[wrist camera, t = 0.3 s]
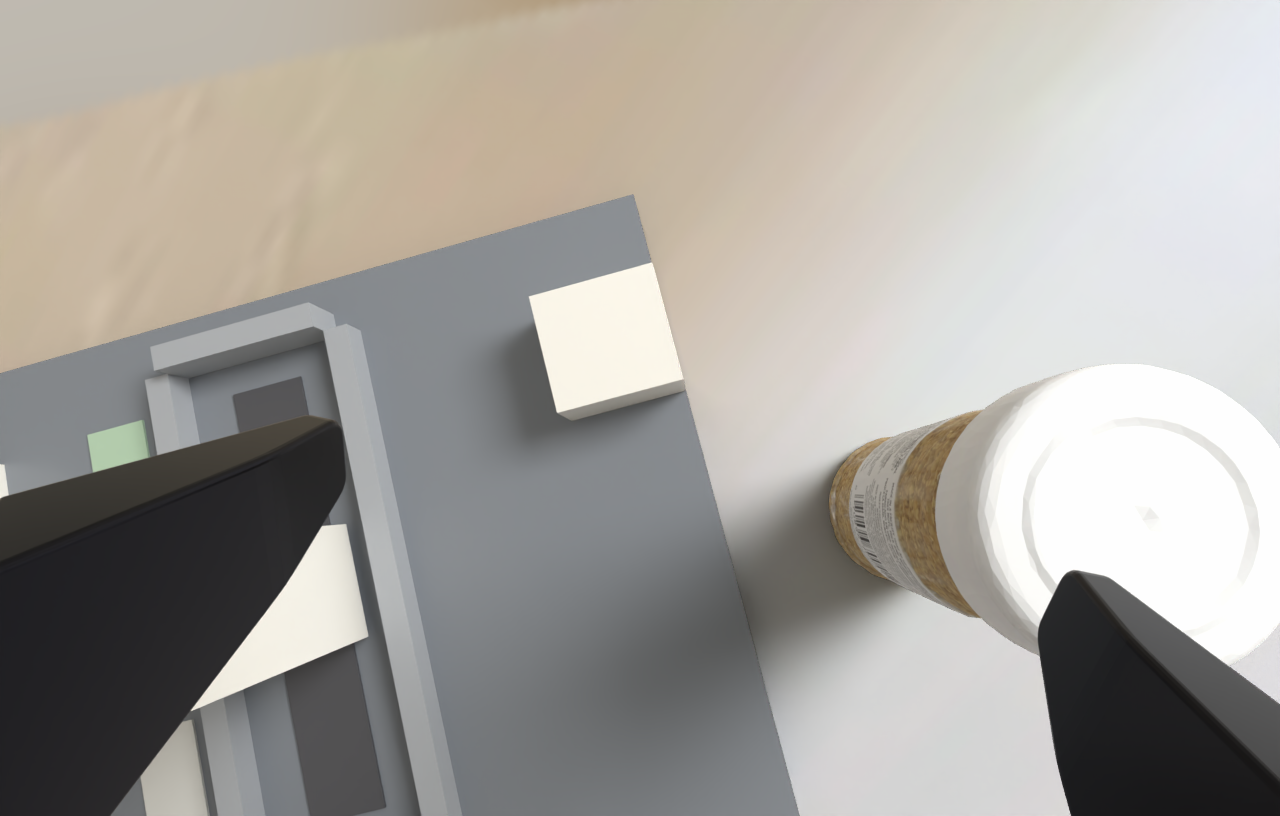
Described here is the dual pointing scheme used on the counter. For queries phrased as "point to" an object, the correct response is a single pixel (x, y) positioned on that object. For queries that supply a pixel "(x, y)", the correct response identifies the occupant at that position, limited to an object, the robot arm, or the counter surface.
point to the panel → (458, 538)
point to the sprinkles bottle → (1079, 505)
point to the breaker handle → (300, 618)
